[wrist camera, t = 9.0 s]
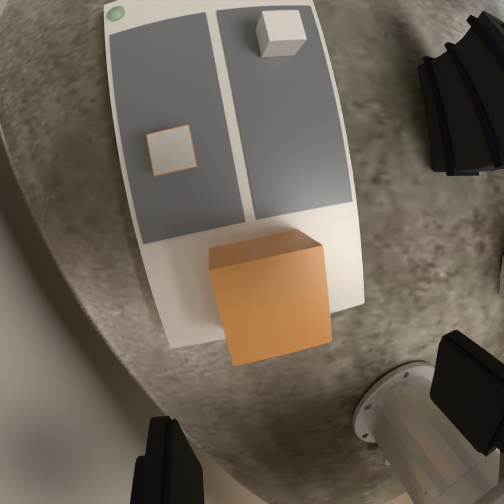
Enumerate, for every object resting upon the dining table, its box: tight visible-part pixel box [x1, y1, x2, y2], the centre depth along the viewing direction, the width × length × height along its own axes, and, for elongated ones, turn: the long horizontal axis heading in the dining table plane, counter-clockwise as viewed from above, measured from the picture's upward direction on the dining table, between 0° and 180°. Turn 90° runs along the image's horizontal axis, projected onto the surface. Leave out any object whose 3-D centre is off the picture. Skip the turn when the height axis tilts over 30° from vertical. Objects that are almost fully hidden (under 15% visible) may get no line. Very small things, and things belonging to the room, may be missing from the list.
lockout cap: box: [209, 230, 332, 366], centre depth 20 cm, size 6×6×5 cm
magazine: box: [418, 11, 504, 176], centre depth 18 cm, size 4×13×15 cm, turn 6°
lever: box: [255, 10, 307, 58], centre depth 16 cm, size 2×2×3 cm
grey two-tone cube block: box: [146, 124, 198, 177], centre depth 18 cm, size 2×2×3 cm
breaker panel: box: [104, 0, 364, 349], centre depth 21 cm, size 28×16×3 cm, turn 10°
